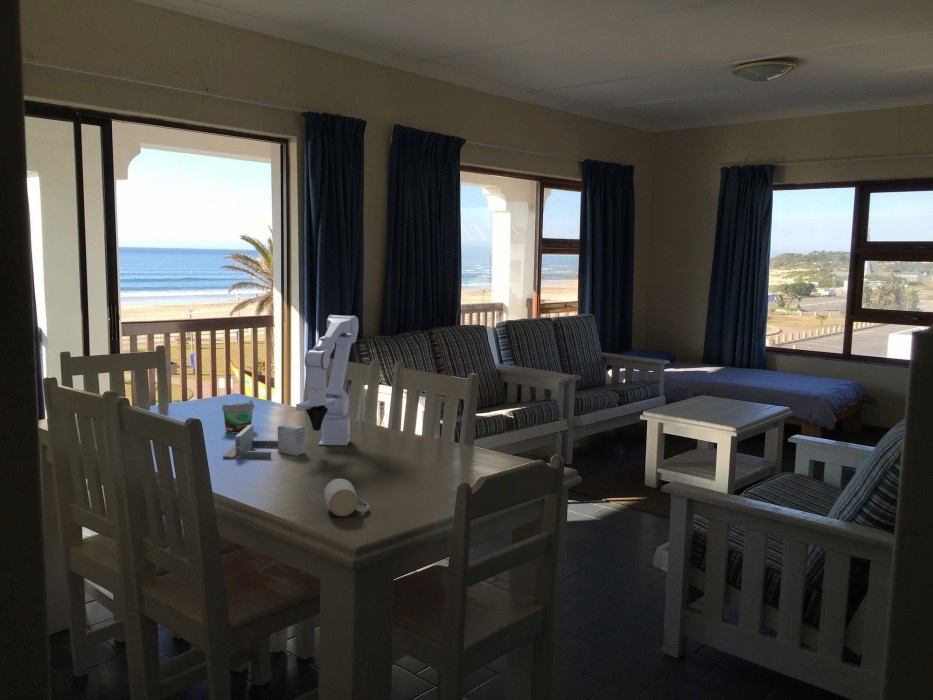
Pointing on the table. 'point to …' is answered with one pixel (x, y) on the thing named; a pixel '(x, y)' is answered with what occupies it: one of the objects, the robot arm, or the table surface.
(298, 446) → the medicine box
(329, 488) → the ceramic mug
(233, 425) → the food container
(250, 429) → the door panel
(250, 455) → the keeper cleats
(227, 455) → the threshold strip
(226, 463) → the table surface
